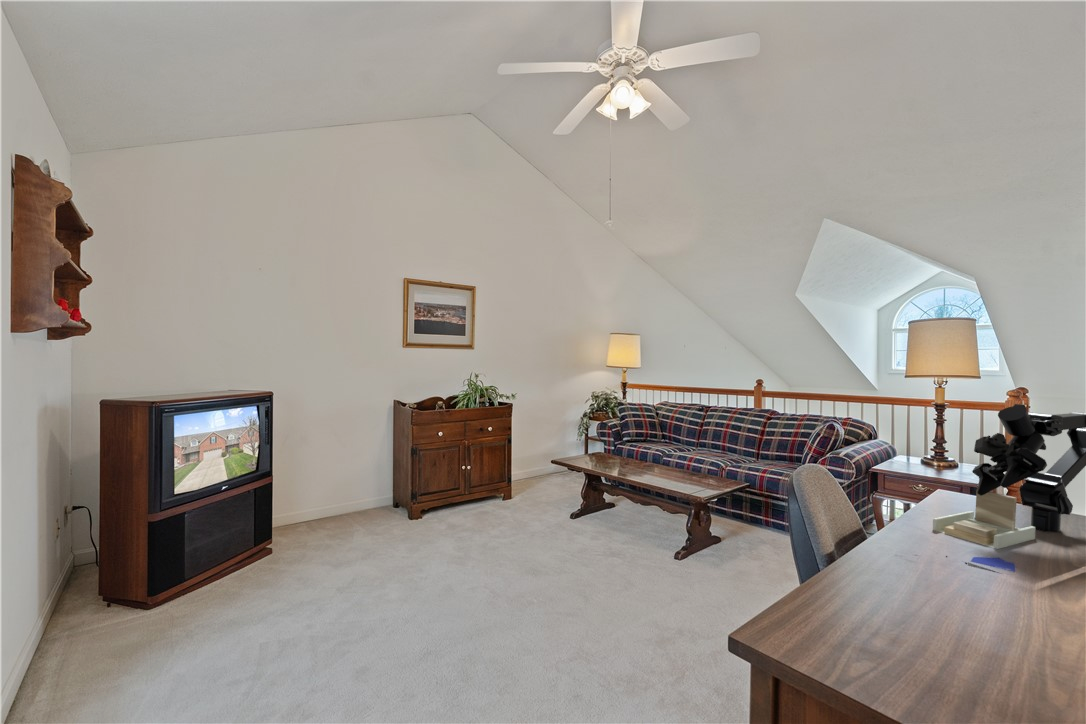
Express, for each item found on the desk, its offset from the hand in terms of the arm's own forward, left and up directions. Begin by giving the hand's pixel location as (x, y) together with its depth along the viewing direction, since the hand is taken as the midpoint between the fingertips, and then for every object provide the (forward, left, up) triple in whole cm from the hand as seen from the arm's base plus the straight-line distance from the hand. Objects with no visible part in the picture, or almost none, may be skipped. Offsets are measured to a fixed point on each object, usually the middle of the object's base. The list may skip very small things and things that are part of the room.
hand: (990, 490), depth 130 cm
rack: (-1, -2, -13) cm, 13 cm away
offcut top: (+4, -1, -10) cm, 11 cm away
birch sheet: (-6, -2, -12) cm, 13 cm away
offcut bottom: (+5, -2, -12) cm, 13 cm away
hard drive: (+17, +8, -14) cm, 23 cm away
